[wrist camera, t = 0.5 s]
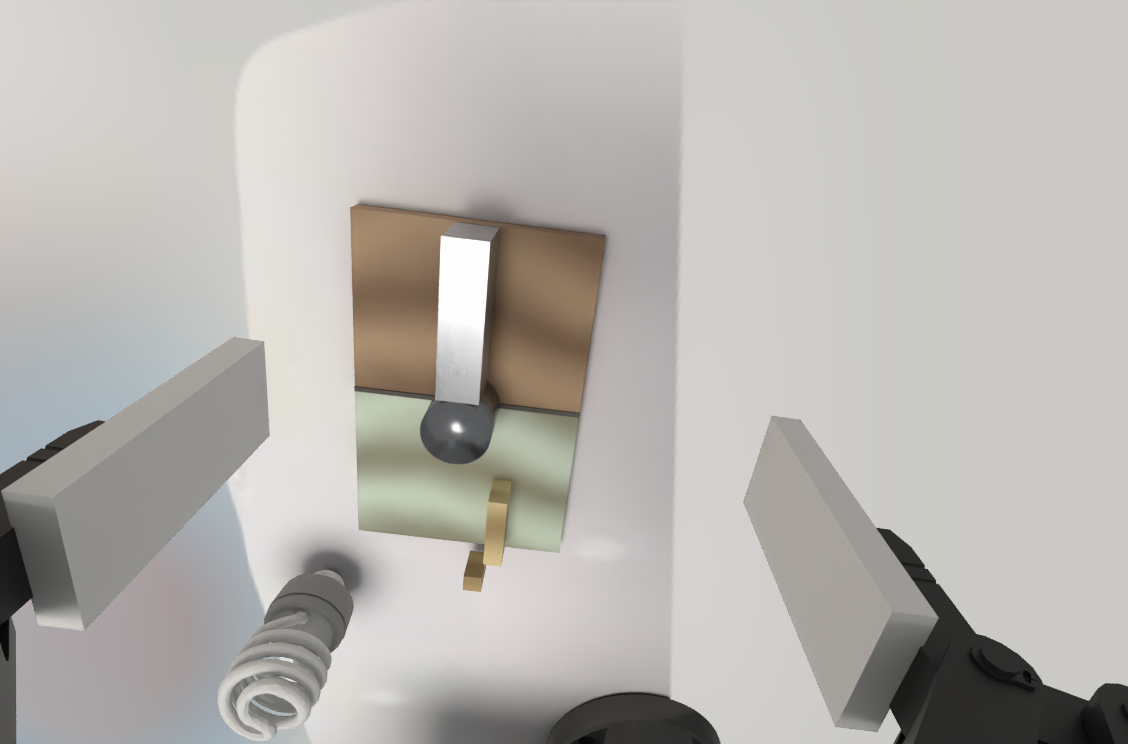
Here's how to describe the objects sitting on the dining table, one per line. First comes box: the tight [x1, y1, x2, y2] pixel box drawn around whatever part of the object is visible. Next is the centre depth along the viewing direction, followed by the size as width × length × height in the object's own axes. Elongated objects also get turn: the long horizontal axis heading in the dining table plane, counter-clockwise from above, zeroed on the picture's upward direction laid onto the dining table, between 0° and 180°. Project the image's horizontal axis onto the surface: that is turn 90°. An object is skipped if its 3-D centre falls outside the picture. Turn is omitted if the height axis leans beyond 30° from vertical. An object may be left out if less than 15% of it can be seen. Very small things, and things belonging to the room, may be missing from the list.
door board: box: [350, 204, 605, 592], centre depth 37 cm, size 24×14×4 cm, turn 173°
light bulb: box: [218, 570, 354, 741], centre depth 40 cm, size 6×6×12 cm
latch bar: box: [420, 222, 500, 464], centre depth 34 cm, size 13×4×4 cm, turn 173°
